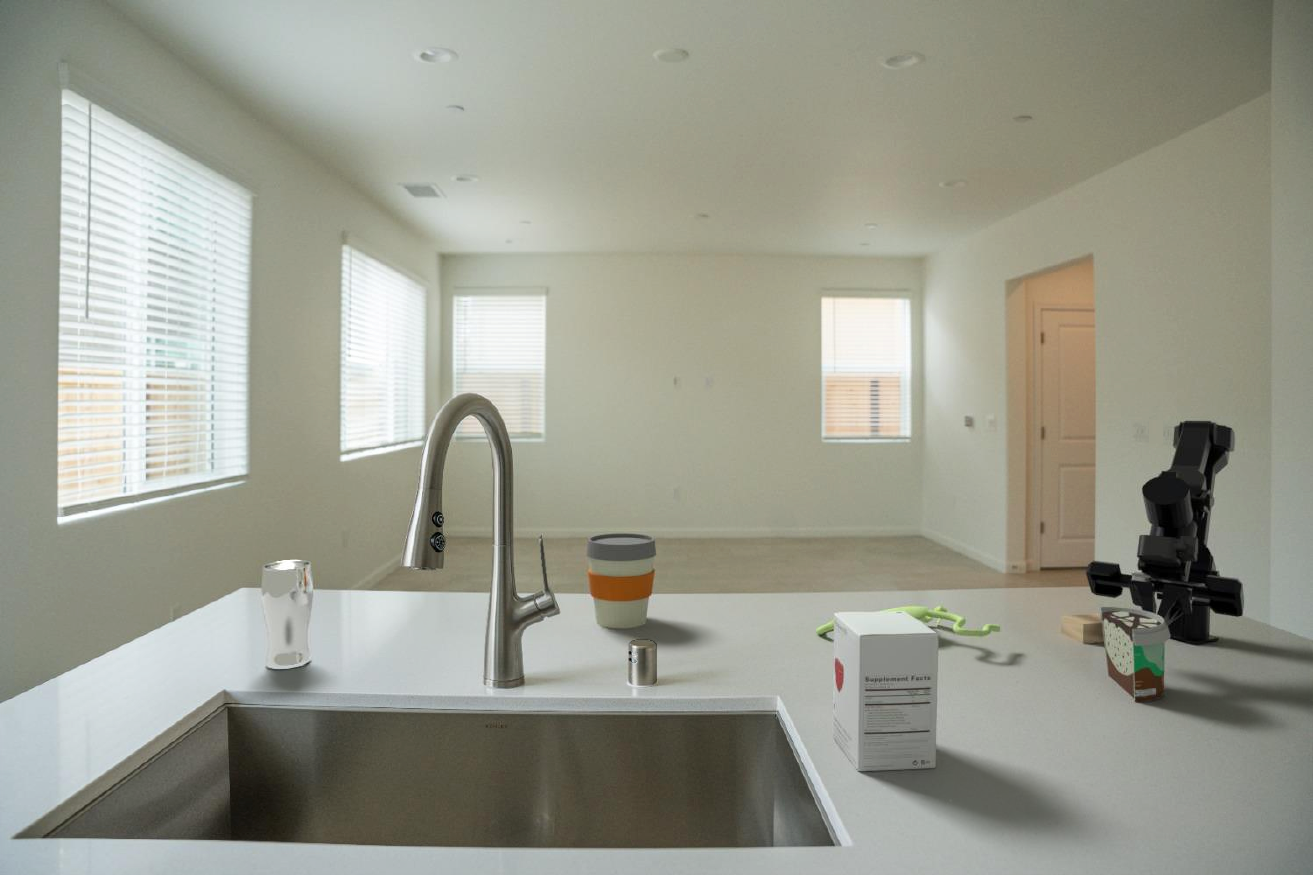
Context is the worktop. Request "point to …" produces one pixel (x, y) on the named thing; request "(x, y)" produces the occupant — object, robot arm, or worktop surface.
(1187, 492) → the robot arm
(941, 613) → the figurine
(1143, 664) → the food container
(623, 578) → the reusable coffee cup
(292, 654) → the beer glass
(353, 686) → the worktop surface
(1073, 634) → the oak block
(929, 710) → the supplement box
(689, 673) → the worktop surface
